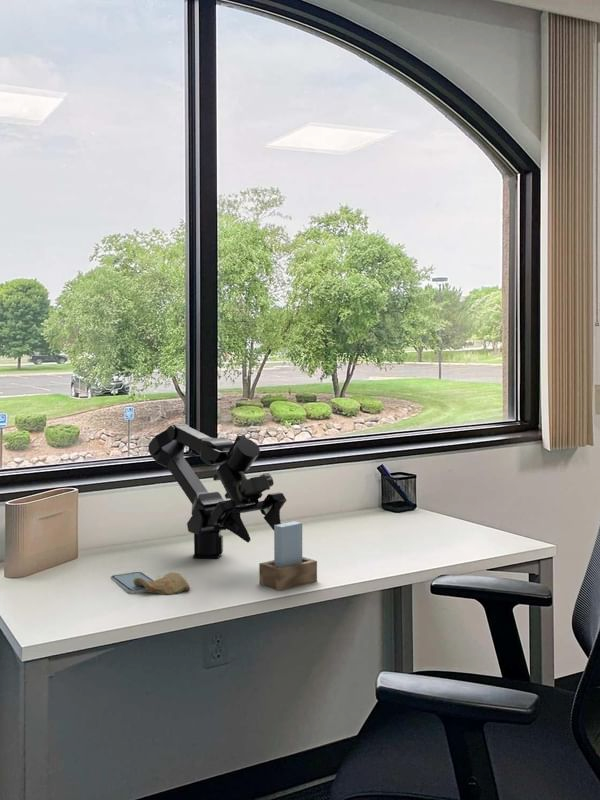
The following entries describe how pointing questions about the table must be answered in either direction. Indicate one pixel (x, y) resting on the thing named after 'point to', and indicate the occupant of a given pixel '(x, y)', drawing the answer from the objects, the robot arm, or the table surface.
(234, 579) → the table surface
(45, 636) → the table surface
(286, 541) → the slate card
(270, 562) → the brown wooden open box
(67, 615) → the table surface
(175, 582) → the brown tapered lumpy piece
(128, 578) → the smartphone
